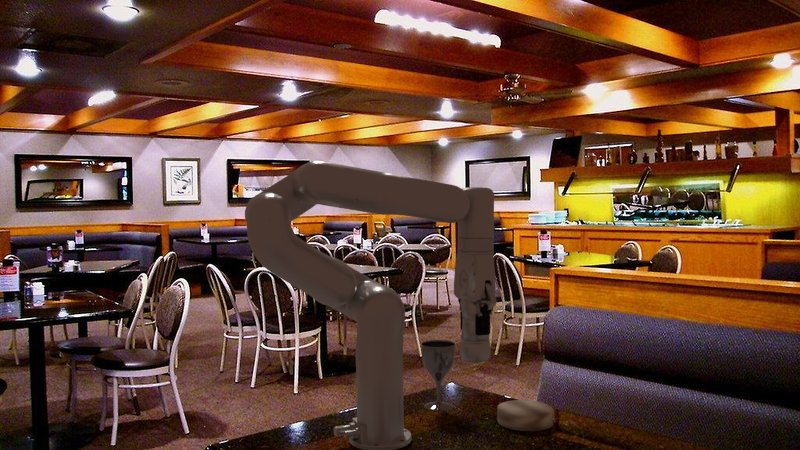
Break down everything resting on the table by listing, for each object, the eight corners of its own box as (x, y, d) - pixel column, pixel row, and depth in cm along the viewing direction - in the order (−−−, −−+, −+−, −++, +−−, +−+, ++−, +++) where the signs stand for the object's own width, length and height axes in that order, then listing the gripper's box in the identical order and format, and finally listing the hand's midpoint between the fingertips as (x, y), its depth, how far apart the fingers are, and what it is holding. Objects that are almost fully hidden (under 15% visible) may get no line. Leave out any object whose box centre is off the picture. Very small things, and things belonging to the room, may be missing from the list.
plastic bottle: (480, 367, 136) (482, 270, 135) (452, 362, 140) (454, 267, 140) (496, 361, 141) (498, 267, 141) (468, 356, 146) (470, 265, 145)
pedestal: (517, 434, 139) (517, 420, 138) (487, 417, 150) (487, 404, 149) (564, 426, 143) (564, 412, 143) (532, 410, 154) (531, 397, 154)
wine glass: (415, 407, 157) (414, 344, 157) (434, 399, 164) (433, 338, 163) (443, 413, 152) (442, 348, 152) (462, 405, 159) (461, 342, 158)
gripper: (440, 244, 146) (440, 326, 147) (481, 249, 131) (480, 341, 131) (470, 243, 149) (470, 324, 150) (513, 248, 134) (512, 338, 134)
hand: (474, 331), depth 141 cm, fingers closed on plastic bottle, 5 cm apart
